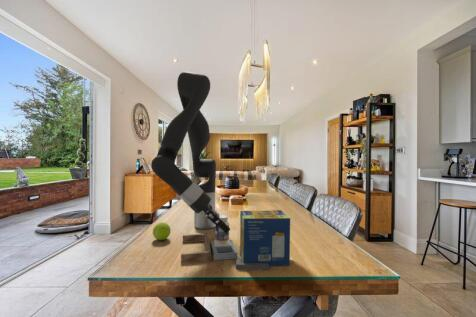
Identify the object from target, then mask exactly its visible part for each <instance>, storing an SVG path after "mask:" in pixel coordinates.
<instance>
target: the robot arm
mask: <svg viewBox="0 0 476 317" xmlns="http://www.w3.org/2000/svg"><path fill="white" fill-rule="evenodd" d="M176 82H177V83H176V84H177V85H176V86H177V92H178V96H179V99H180V102H181V106H182V110H181V111H180V113H179V114H177V115H176V116H175V117H174V118H173V119H172V120H171V121H170V122H169V124H168V125H167V127H166V129H165V131H164V134H163V137H162V138H161V142H160V147H159V149H158V152H157V154H156V156H155V157H154V158H153V159H152V161H151V164H150V167H151V170H152V172H153V174H155V175H156V176H157V177H159V179H161V180H162V181H163V182H164V183H165V184H167V185H168V186H169V187H170V188H171V190H173V192H175V193H176V195H178V196H179V197H180V198H181V200H182V201H183V202H184V203H185V204H186V205H187V206H188V207H189V208H190V209H191V210H192V211H193V212H194V213H193V214H194V217H193V218H194V219H193V220H194V221H193V222H194V223H193V225H194V226H193V227H194V228H197V229H201V230H209V229H213V228H214V229H215V225H216V226H217V227H220V228H221V229H222V230H223V231H224V232H225V233H228V232H229V233H230V231H231V228H230V226H229V227H228V226H227V225H226V224H225V223H224V222H223V220H221V218H220V215H221V214H220V213H219V212H218V211H217V210H216V174H217V162H216V160H215V159H213V158H201V157H200V156H201V154H202V153H203V151H204V150H205V148H206V147H207V146H208V144H209V142H210V138H211V135H210V125H209V123H208V121H207V119H206V117H205V116H204V114H203V113H202V111H201V109H202V107H203V105H204V104H205V102H206V100H207V98H208V96H209V94H210V90H211V81H210V78H209V76H207V75H205V74H200V73H198V72H197V73H196V72H191V71H182V72H180V74H179V75H178V77H177V81H176ZM186 136H188V141H189V147H190V153H191V157H192V158H191V159H192V161H191V162H192V170H193V174H194V176H195V178H203V179H204V178H205V179H207V178H208V180H207V181H206V182H204V183H201V184H197V183H196V182H194V181H193V180H192V178H190V177H189V176H188V175H187V174H186V173H184V172H183V171H182V170H181V169H180V168H179V167H178V166H177V164H175V162H176V159H177V156H178V154H179V151H180V149H181V147H182V145H183V143H184V140H185V138H186ZM217 220H219V222H218V223H217Z"/></svg>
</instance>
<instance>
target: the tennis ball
mask: <svg viewBox="0 0 476 317" xmlns="http://www.w3.org/2000/svg"><path fill="white" fill-rule="evenodd" d="M171 231H172V230H171V227H170V225H169V224H168V223H166V222H159V223H158V222H157V223H156V224H155V225H154V227H153V229H152V235H153V238H154V239H155V240H157V241H163V240H164V241H165V240H167V238H168V237H169V236H170V235H171ZM168 239H169V238H168Z"/></svg>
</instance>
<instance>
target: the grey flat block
mask: <svg viewBox="0 0 476 317" xmlns="http://www.w3.org/2000/svg"><path fill="white" fill-rule="evenodd" d="M235 263H236V264H235V270H244V271H245V270H246V271H248V270H249V271H269V270H270V268H269V267H270V266H269V264H268V263H244V262H242V258H241V257H238V258H236V262H235Z"/></svg>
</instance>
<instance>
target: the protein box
mask: <svg viewBox="0 0 476 317" xmlns="http://www.w3.org/2000/svg"><path fill="white" fill-rule="evenodd" d="M239 213H240V215H239V216H240V221H239V222H240V225H239V226H240V228H239V229H240V230H239V235H240V237H239V254H240V258H242V262H244V263H268V264H269V267H285V266H286V267H290V263H291V262H290V260H291V258H290V257H291V256H290V255H291V254H290V253H291V218H290V217H289V216H288V215H287V214H286V213H285V212H284V211H282V210H278V209H277V210H275V209H274V210H270V209H269V210H240V212H239Z"/></svg>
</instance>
